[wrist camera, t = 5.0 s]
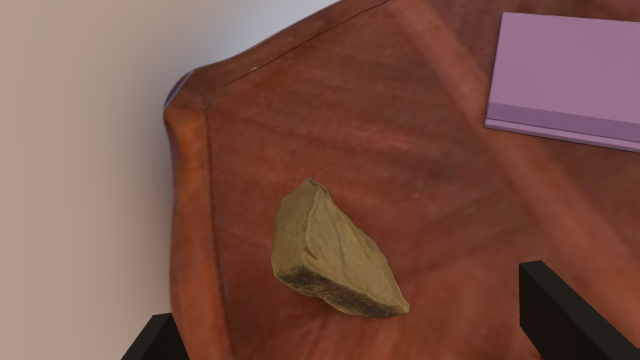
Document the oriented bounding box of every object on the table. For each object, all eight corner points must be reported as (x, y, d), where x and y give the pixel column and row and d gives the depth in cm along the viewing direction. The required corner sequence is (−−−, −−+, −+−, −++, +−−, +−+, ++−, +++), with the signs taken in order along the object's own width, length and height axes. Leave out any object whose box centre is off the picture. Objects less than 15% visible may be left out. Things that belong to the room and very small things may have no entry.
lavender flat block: (483, 127, 28) (485, 122, 27) (501, 16, 33) (503, 10, 32) (772, 175, 23) (782, 170, 22) (742, 35, 28) (750, 29, 27)
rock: (255, 173, 26) (229, 308, 21) (304, 102, 20) (286, 268, 14) (371, 211, 30) (375, 332, 25) (443, 162, 24) (470, 310, 18)
